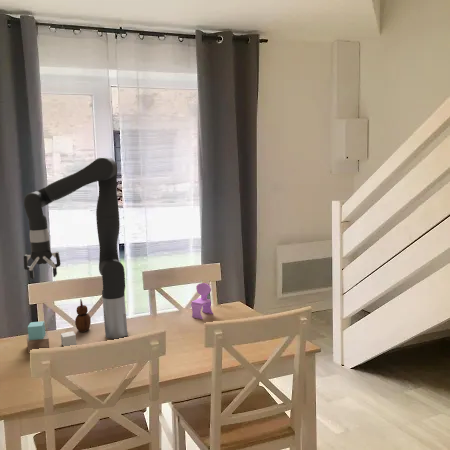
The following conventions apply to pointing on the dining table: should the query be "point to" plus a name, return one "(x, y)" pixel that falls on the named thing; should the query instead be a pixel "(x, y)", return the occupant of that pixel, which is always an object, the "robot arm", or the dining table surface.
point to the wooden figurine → (82, 318)
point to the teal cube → (36, 330)
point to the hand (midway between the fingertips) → (43, 277)
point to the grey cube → (68, 338)
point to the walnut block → (38, 343)
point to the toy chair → (201, 301)
